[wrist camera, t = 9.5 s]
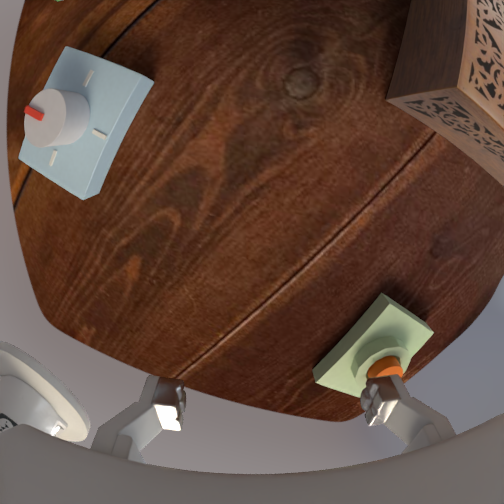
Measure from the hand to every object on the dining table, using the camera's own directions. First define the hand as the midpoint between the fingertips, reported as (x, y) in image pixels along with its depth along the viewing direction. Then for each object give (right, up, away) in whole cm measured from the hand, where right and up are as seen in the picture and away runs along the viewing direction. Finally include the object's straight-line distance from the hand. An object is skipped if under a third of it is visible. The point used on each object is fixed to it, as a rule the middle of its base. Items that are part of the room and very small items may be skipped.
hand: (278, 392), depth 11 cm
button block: (+13, -5, +19) cm, 23 cm away
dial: (-16, +17, +6) cm, 24 cm away
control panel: (-16, +18, +9) cm, 25 cm away
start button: (+13, -6, +15) cm, 21 cm away
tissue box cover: (+25, +22, +8) cm, 34 cm away
